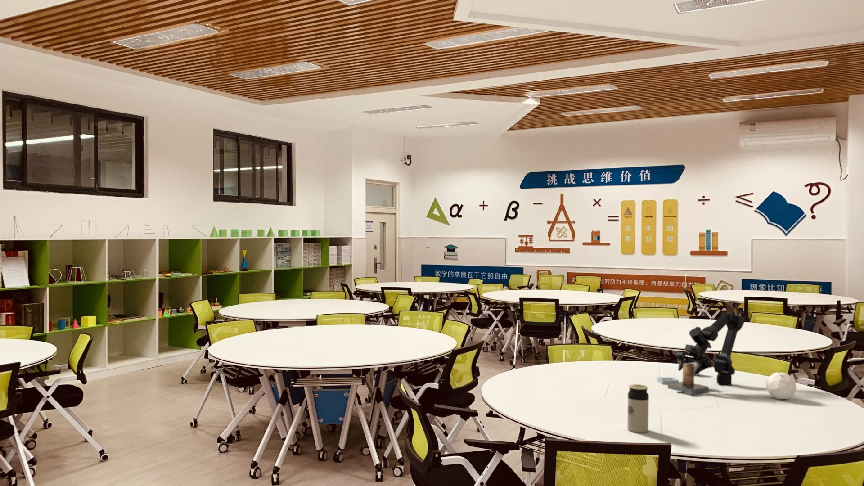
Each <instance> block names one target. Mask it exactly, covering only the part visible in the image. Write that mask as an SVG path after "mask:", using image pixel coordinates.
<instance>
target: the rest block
mask: <svg viewBox="0 0 864 486" xmlns="http://www.w3.org/2000/svg"><path fill="white" fill-rule="evenodd" d="M656 382H658V383H659V384H661V385H668V384H672V383H678V382H680V380H679V379H676V377H656Z"/></svg>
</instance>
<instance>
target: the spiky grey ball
mask: <svg viewBox="0 0 864 486" xmlns="http://www.w3.org/2000/svg"><path fill="white" fill-rule="evenodd" d="M688 363H692V364H694V371H695V369H696V368H697V366H698V364H699V362H695V361H692V362H691V361H689V362H688ZM700 372H701V373H702V371H700ZM700 372H699V373H697V374H694V376H696V375H698V376H700Z"/></svg>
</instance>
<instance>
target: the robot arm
mask: <svg viewBox="0 0 864 486" xmlns="http://www.w3.org/2000/svg"><path fill="white" fill-rule="evenodd" d="M744 323H745V318H744V317H743V315H739V314H738V315H737V314H733V313H730V312H722V313H721V314H720V316H719V317H717V319H716V320H715V321H714V322H713V323H712V324H711V325H710V326H705V327H704V328H703V329H702V328H701V327H700V326H696V327H695V328H692V329H691V330H689V333H688V334H689V336H690V338H691V339H692V341H693V342H694V343H695V345H691V344H685V347H684V351H686V352H687V354H688V355H687V354H686V352H682V351H677V352H676V353H675V356H676V358H677V359H678V371H679V372H681V371H682V370H683V364H684V363H689V362H688V361H692V362H696V363H699V364H698V366H697V368H696V369H695V371H694V374H696V375H698V374H697V373H699V372H700V371H701V372H703V371H704V370H706V369H709V368H710V369H712V368H714V372H715V373H717V375H716V383H717V384H718V385H719V386H728V387H729V386H732V387H733V384H732V378H733V376H732V375H735V372H736V370H735V368H734V366H733V365H732V364H733V359H732V357H731V355H732V354H733V353H732V352H733V348H734V346H735V341H736V338H737V334H738V332H739V331H740V330H742V328H743V326H744ZM725 326H726V328H727V331H726V334H725V337H724V341H723V345H722V347H721V352H720V353H719V354H716V355H715V357H714V361H712V360H711V358H710V357H709V356H706V355H707V354H706V351H707V350H708V349H712V345H711V342H715V341H716V340H717V338H718V337H719V332H721V330H722V329H723V328H724V327H725ZM709 341H711V342H709ZM699 374H700V373H699Z"/></svg>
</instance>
